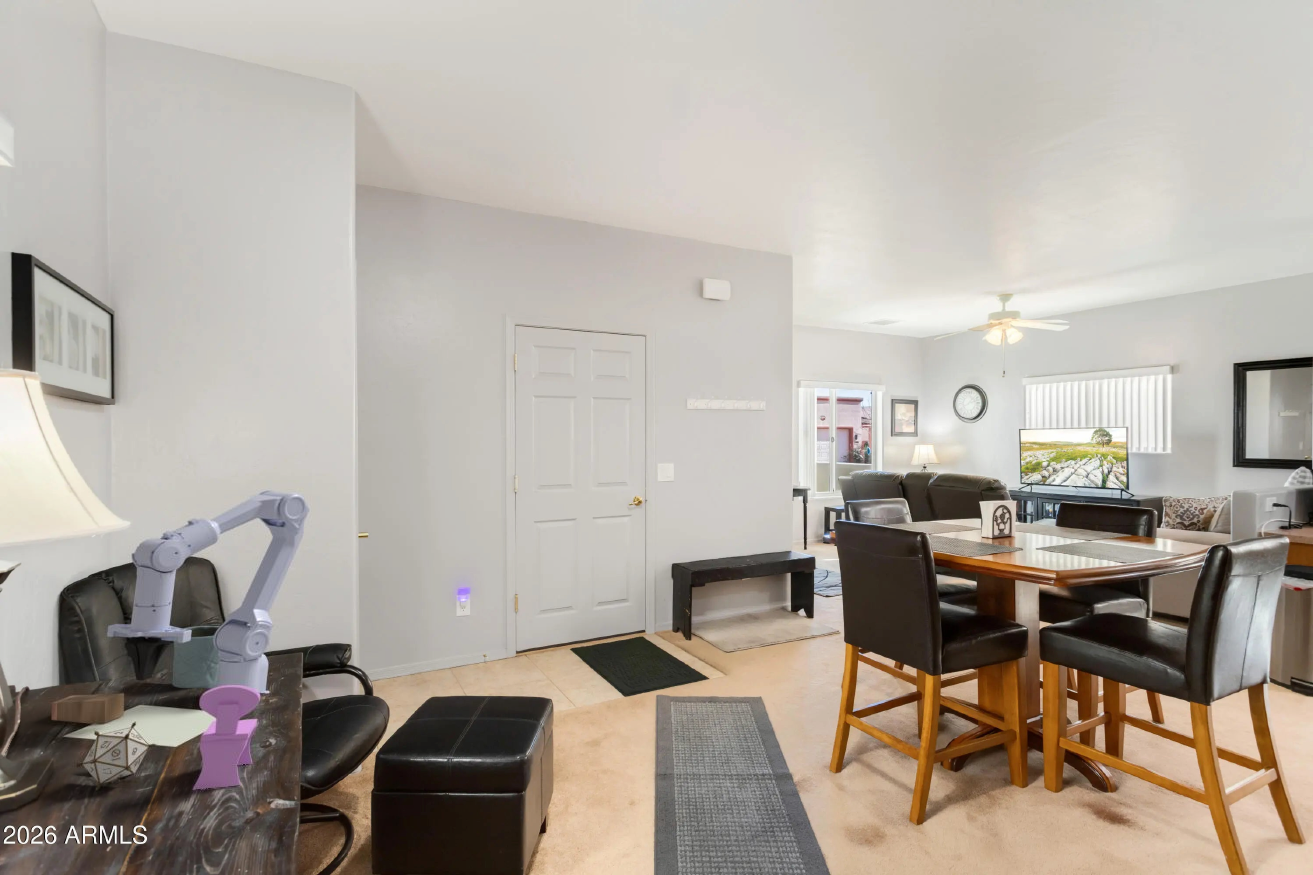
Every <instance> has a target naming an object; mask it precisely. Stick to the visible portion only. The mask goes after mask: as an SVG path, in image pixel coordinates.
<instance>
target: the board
mask: <svg viewBox="0 0 1313 875" xmlns="http://www.w3.org/2000/svg"><path fill="white" fill-rule="evenodd" d="M213 721H216V718H215V717H213V716H212V715H210V714H208V713H207V712H205V711H204V710H202V709H201V710H200V709H191V708H189V709H188V708H178V707H167V706H157V705H156V706H155V705H146V704H145V705H143V704H139V705H136V706H134V707H131V708H128V709H127V710H124V715H123V716H121V717H118V718H116V719H114V720H111V721H109V722H106V723H95V724H90V725H88V726H86V727H83V728H81V729H78V730H76V731H72V732H70V733H67V734H66V735H63V736H62V737H63V738H65V737H66V738H74V739H85V740H86V739H87V740H94V741H95V740H96V738H97V736H95V735H94V731H97V732H99V734H105V733H109V732H113V731H117V730H121V729H126V728H130V727H131V725H132V723H134V722H136V725H135V726H134V729H135V730H136V731H137V732H138V733H139V734H140V735H141V737H142V738H143V739H144V740H145V741H146V742H147V743H148V744H149V745H151V744H157V745H156V746H162V747H163V746H164V747H171V748H172V747H174V748H177V747H178V746H180V745H182V744H185V743H186V742H187V741H189V740H192V739H194V738H195V737H198V736H199V735H200V736H201V735H202V734H203V733H204V732H205V731H206V730H207V729H208V728H209V726H210V725H211V723H212V722H213Z"/></svg>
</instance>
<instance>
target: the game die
mask: <svg viewBox="0 0 1313 875" xmlns="http://www.w3.org/2000/svg"><path fill="white" fill-rule="evenodd" d="M135 725H136V722H134V723H132V725H131V727H130V728H126V729H121V730H117V731H113V732H109V733H105V734H99V732H97V731H94V735H95V736H97V738H96V740H95V739H94V742H93V743H92V745H91V747H90V749H89V751H88V752H87V754H85V756H84V758H83V761H82V762H78V763H76V764H75V765H74V767H76V768H79V767H81V766H82V767H83V768H84V769H85V770H86V771H87V772H88V774H89V775H90V776H91V777H92V778H93V779H94V781H95V782H97V785H96V786H95V791H96V790H97V791H98V790H100V789H101V787H102V785H104V784H107V783H110V782H114V781H118V780H119V779H120V778H123V777H127V776H130V775H134V774H136V773H137V771H138V769H139V768H140V766H141V764H142V762H143V760H144V758H146V755H147V753H148V752H149V750H150V748H155V747H156V746H158V745H157V744H151V745H149V744H148V743H147V742H146V741H145V740H144V739H143V738H142V737H141V735H140V734H139V733H138V732H137V731H136V730H135V729H134V726H135Z"/></svg>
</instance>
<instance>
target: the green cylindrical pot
mask: <svg viewBox="0 0 1313 875" xmlns="http://www.w3.org/2000/svg"><path fill="white" fill-rule="evenodd" d="M220 626H221V625H198V626H189V627H185V628H183V629H186V630H192V631H191V640H190V641H187V642H184V643H178V641H173V652H174V654H173V660H172V662H173V666H172V670H173V671H172V683H171V684H172V686H173V687H175V688H180V689H195V688H200V689H201V688H203V689H213V688H216V684H217V676H218V667H219V659H220V656H218V654H219V651H218V650H217V649H216V648H215V646H214V643H213V639H214V635H215V633H216V631H217V630H218V628H219V627H220Z"/></svg>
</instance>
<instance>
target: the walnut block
mask: <svg viewBox="0 0 1313 875" xmlns="http://www.w3.org/2000/svg"><path fill="white" fill-rule="evenodd" d="M124 711H125V693H123V692H122V693H104V694H102V693H101V694H81V695H80V694H79V695H78V694H77V695H70V696H67V697H65V698H62V699H58V700H55V701H52V702H51V720H52V721H59V722H70V723H71V722H72V723H79V724H80V723H84V724H90V725H92V724H95V723H106V722H109V721H111V720H114V719H116V718H118V717H121V716H123V715H124Z"/></svg>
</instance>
